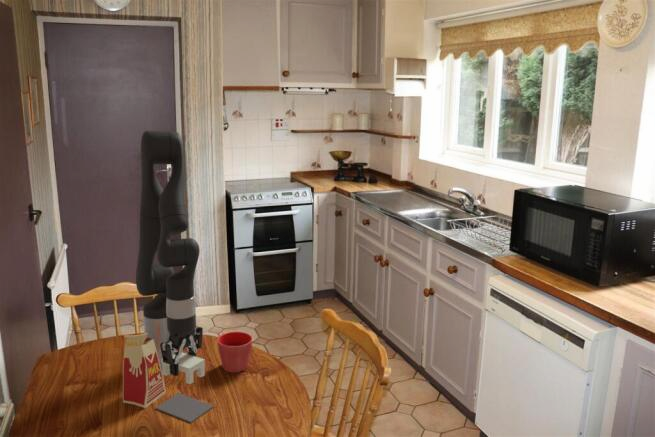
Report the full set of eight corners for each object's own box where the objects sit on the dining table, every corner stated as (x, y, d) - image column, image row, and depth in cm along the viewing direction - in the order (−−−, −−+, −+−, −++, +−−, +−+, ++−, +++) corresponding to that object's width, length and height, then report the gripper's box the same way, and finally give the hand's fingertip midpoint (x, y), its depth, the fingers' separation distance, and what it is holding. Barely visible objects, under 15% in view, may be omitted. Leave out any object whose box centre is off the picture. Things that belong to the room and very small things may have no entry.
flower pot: (246, 377, 176) (245, 347, 174) (212, 372, 178) (211, 343, 176) (257, 361, 186) (257, 333, 184) (225, 357, 188) (224, 329, 186)
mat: (155, 408, 158) (155, 407, 158) (178, 394, 165) (178, 392, 165) (191, 423, 152) (191, 421, 151) (213, 407, 159) (213, 405, 159)
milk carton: (166, 392, 166) (163, 328, 162) (146, 408, 158) (142, 341, 153) (139, 386, 169) (135, 323, 165) (118, 402, 161) (114, 336, 156)
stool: (161, 359, 155) (189, 368, 150) (177, 350, 160) (204, 359, 155) (162, 374, 156) (189, 384, 151) (178, 365, 161) (205, 375, 156)
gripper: (171, 324, 144) (174, 385, 148) (210, 306, 156) (211, 363, 160) (150, 318, 148) (153, 377, 152) (189, 301, 160) (191, 356, 164)
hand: (183, 370), depth 156 cm, fingers closed on stool, 6 cm apart
